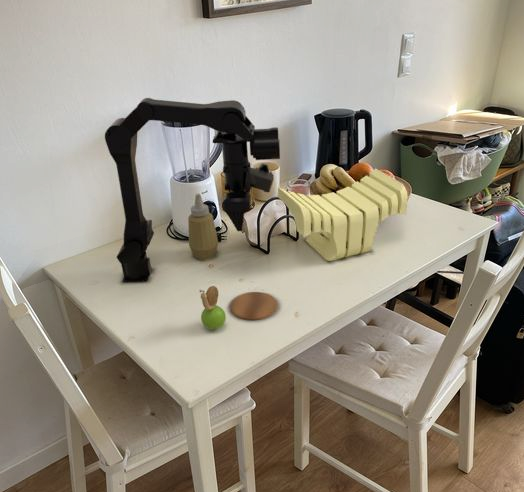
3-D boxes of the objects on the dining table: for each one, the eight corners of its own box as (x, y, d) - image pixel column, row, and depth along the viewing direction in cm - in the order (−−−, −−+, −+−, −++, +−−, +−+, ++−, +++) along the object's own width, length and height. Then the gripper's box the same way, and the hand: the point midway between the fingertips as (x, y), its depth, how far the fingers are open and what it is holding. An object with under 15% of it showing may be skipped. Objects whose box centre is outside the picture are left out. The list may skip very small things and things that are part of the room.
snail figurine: (196, 334, 114) (189, 288, 108) (209, 318, 119) (203, 273, 113) (218, 339, 113) (213, 293, 106) (230, 322, 118) (226, 277, 111)
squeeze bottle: (190, 249, 147) (183, 189, 137) (219, 247, 148) (213, 187, 138) (190, 263, 141) (181, 201, 131) (219, 261, 141) (213, 199, 131)
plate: (229, 321, 118) (229, 319, 118) (231, 294, 127) (231, 292, 127) (277, 319, 118) (277, 317, 117) (276, 293, 127) (276, 291, 127)
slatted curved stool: (303, 272, 134) (304, 209, 124) (279, 246, 147) (277, 187, 137) (401, 248, 143) (409, 187, 133) (370, 225, 155) (375, 168, 145)
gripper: (270, 173, 110) (273, 238, 119) (270, 145, 126) (273, 205, 135) (219, 175, 111) (225, 240, 120) (225, 147, 126) (230, 207, 135)
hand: (240, 222), depth 127 cm, fingers open, 9 cm apart
